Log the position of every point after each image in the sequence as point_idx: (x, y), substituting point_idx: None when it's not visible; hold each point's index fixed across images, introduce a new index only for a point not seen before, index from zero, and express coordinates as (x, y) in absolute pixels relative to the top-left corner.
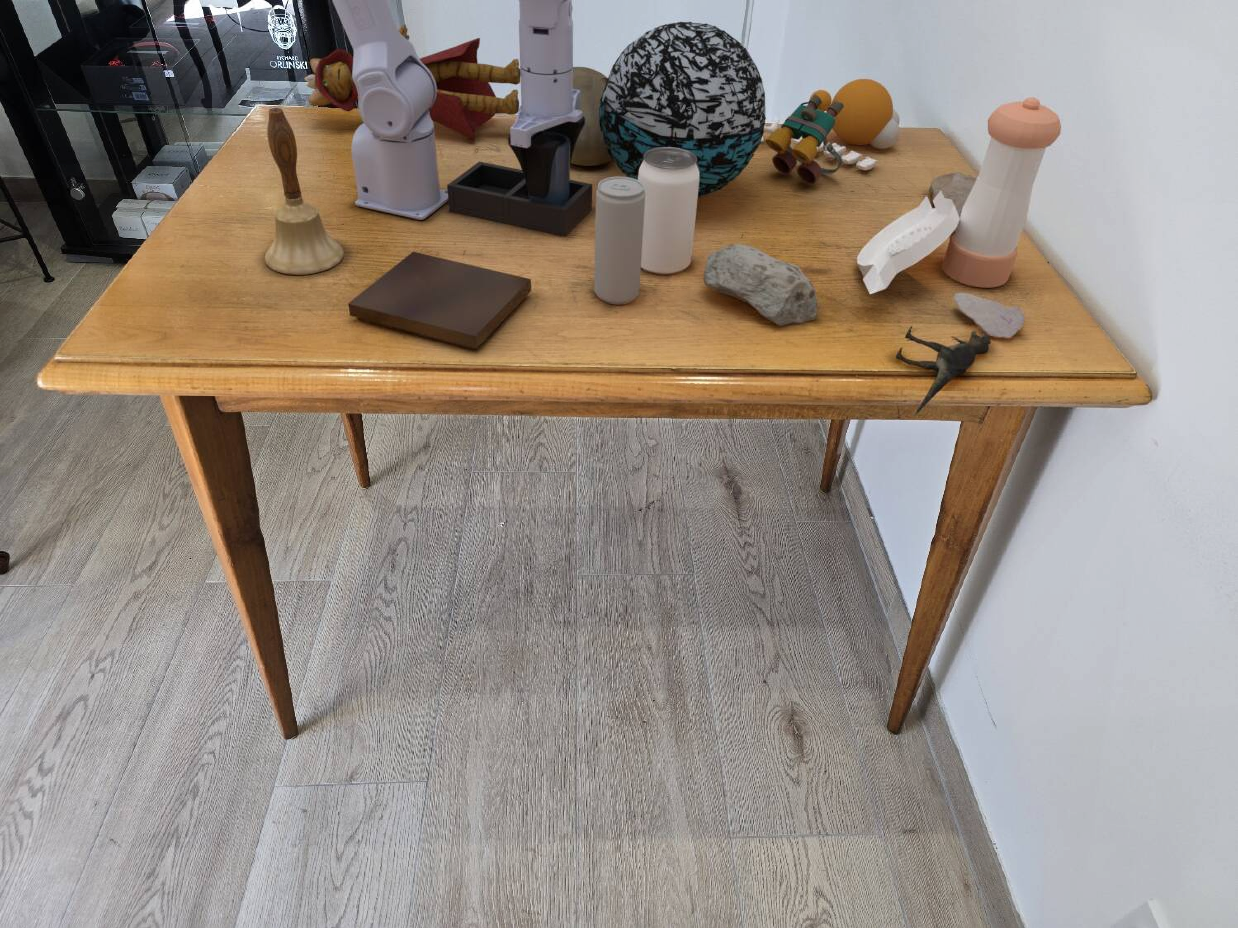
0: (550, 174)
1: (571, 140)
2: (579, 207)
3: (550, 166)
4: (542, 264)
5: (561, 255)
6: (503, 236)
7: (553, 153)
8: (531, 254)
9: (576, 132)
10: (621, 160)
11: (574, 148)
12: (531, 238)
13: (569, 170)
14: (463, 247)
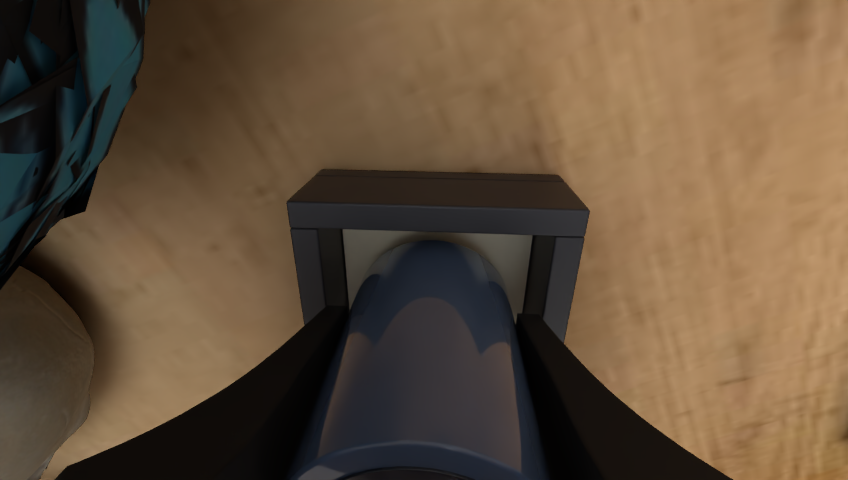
0: (550, 370)
1: (262, 433)
2: (434, 189)
3: (589, 406)
4: (785, 168)
5: (704, 133)
6: (609, 335)
7: (650, 474)
8: (713, 226)
9: (227, 466)
10: (122, 84)
11: (47, 367)
12: (599, 265)
13: (408, 312)
14: (701, 392)
